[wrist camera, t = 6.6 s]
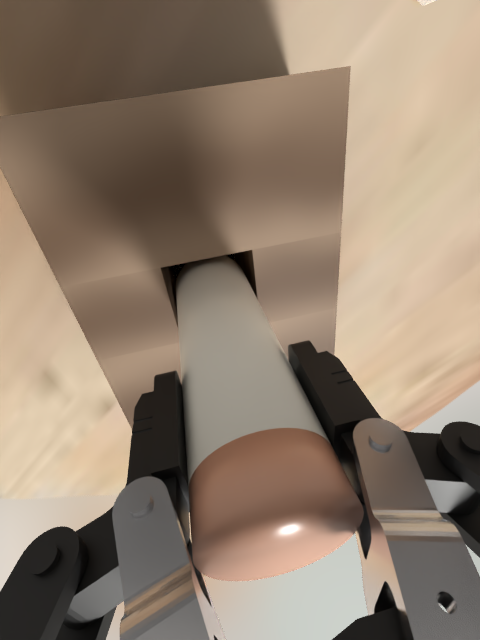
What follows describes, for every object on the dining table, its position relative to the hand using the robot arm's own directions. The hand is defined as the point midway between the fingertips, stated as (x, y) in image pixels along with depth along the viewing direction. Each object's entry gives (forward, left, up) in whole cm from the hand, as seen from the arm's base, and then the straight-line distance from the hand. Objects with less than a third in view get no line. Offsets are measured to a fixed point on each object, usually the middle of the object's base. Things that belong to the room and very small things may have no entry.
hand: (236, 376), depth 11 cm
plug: (0, 0, -8) cm, 8 cm away
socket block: (0, 0, -13) cm, 13 cm away
